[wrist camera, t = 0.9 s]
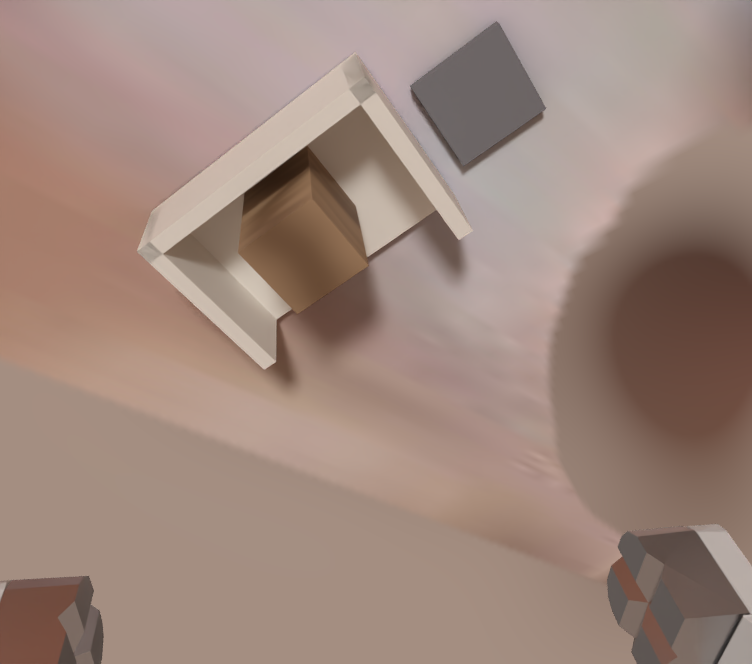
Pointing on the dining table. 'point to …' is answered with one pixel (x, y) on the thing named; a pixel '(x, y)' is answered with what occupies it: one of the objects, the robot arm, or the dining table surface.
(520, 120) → the coaster
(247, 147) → the box
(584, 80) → the dining table surface
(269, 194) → the block
